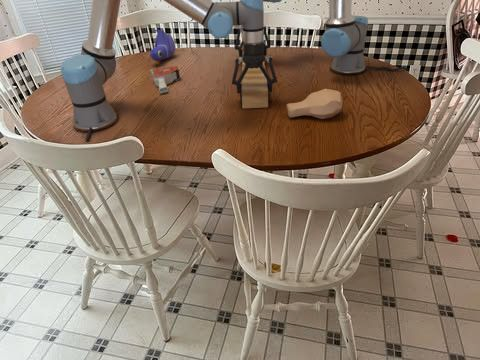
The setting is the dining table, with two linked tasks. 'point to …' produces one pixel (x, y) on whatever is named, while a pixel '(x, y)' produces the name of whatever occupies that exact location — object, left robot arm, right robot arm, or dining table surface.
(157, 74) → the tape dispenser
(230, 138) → the dining table surface
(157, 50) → the toy
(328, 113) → the squash
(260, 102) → the slab
